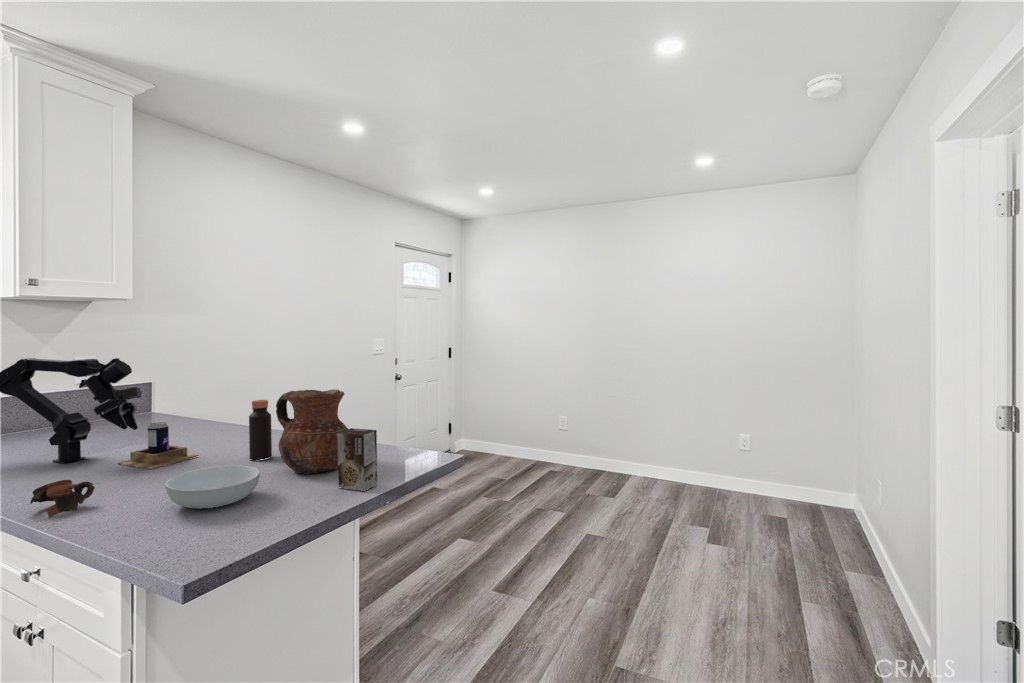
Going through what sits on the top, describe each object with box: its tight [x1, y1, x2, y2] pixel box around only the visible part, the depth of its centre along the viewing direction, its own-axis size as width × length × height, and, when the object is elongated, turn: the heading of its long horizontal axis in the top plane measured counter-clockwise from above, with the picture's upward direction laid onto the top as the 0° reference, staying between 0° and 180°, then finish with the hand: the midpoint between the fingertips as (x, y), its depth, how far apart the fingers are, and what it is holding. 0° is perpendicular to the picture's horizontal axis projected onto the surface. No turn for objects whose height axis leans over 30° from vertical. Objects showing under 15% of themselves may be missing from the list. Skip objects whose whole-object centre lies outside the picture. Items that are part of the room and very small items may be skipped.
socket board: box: [117, 444, 200, 470], centre depth 164 cm, size 16×16×4 cm
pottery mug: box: [29, 479, 96, 517], centre depth 122 cm, size 12×10×8 cm
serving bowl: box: [164, 464, 261, 509], centre depth 126 cm, size 21×21×7 cm
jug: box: [275, 389, 349, 474], centre depth 156 cm, size 22×21×25 cm
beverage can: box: [147, 421, 170, 454], centre depth 164 cm, size 6×6×12 cm
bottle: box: [248, 399, 273, 461], centre depth 167 cm, size 7×7×20 cm
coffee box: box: [337, 427, 378, 492], centre depth 138 cm, size 9×6×16 cm
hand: (131, 429), depth 164 cm, fingers open, 9 cm apart
